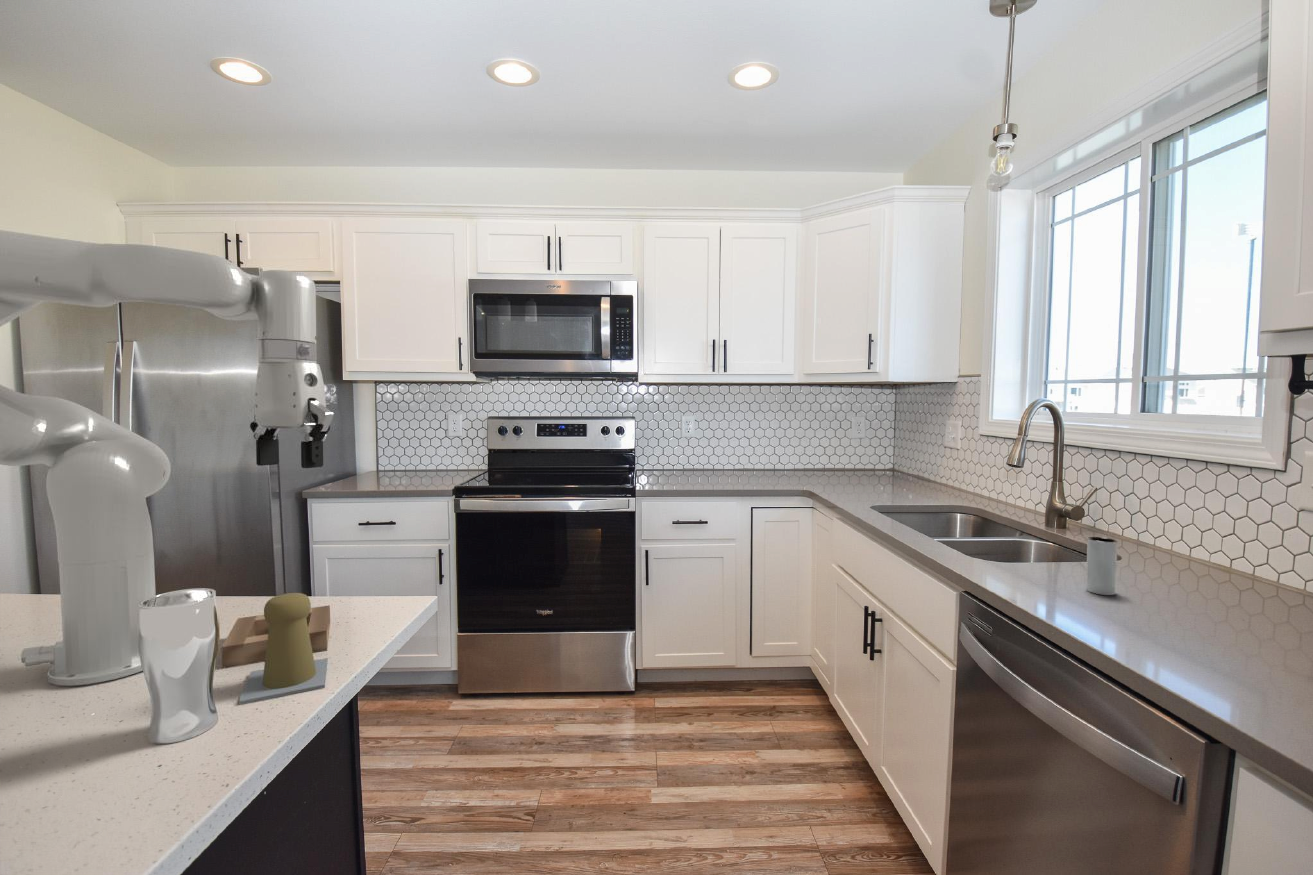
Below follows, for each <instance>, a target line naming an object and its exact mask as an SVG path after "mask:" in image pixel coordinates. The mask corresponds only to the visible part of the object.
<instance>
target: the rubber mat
mask: <svg viewBox="0 0 1313 875" xmlns="http://www.w3.org/2000/svg"><path fill="white" fill-rule="evenodd" d="M314 663H315V668H316V674H315V676H314V677H312V678H311V679H310V680H308V681H306V682H304V683H301V684H298V685H295V686H291V687H286V688H278V689H277V688H266V687H264V686H263V685H262V682H263V674H264V669H258V670H254V671H250V672H249V674H248V678H247V680H246V682H245V685H244V687H243V689H242V690H243V691H242V693H241V695H240V698H239V701H238V705H239V706H240V705H241V706H242V705H244V704H249V703H254V702H259V701H260V702H261V701H264V700H270V699H275V698H278V697H280V698H281V697H285V696H290V695H294V694H300V693H304V692H309V691H313V690H320V689H325V686H326V678H327V668H328V657H326V658H319V659H314Z"/></svg>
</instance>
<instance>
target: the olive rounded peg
mask: <svg viewBox="0 0 1313 875" xmlns="http://www.w3.org/2000/svg"><path fill="white" fill-rule="evenodd" d="M311 606H312V604H311V600H310V598H309V597H308V596H307V594H304V593H301V592H291V593H284V594H283V593H282V594H279V595H276V596H274V597H272V598H270V599H268V600H267V601H266V603H265V605H264V607H263V615H264V617H265V620H266V621H267V622H268V623H269V632H268V640H267V649H266V657H265V661H264V667H263V670H264V674H263V682H262V685H263V686H264V687H266V688H277V689H278V688H286V687H291V686H295V685H298V684H301V683H304V682H306V681H308V680H310V679H311V678H312V677H314V676H315V674H316V668H315V663H314V660H315V658H314V653H313V652H312V647H311V641H310V636H309V631H308V625H307V620H306V617H307V616H308V614H309V613H310V609H311V608H312V607H311Z"/></svg>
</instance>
